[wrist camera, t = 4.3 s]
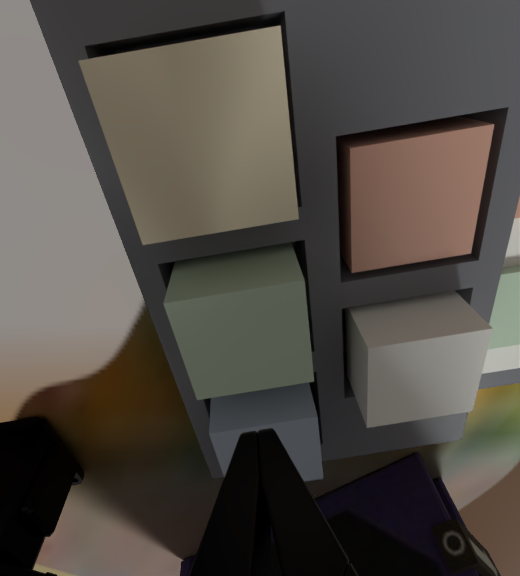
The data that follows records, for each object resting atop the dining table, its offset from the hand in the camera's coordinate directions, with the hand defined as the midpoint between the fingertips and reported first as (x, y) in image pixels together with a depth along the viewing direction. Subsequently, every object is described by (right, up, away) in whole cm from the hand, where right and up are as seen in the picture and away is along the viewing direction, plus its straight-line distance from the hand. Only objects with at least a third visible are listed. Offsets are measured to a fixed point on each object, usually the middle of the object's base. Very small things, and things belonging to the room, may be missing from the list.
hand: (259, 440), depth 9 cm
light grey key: (+6, +2, +7) cm, 10 cm away
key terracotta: (+5, +8, +6) cm, 11 cm away
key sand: (-2, +9, +2) cm, 9 cm away
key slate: (0, -2, +9) cm, 9 cm away
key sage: (-1, +3, +6) cm, 7 cm away
